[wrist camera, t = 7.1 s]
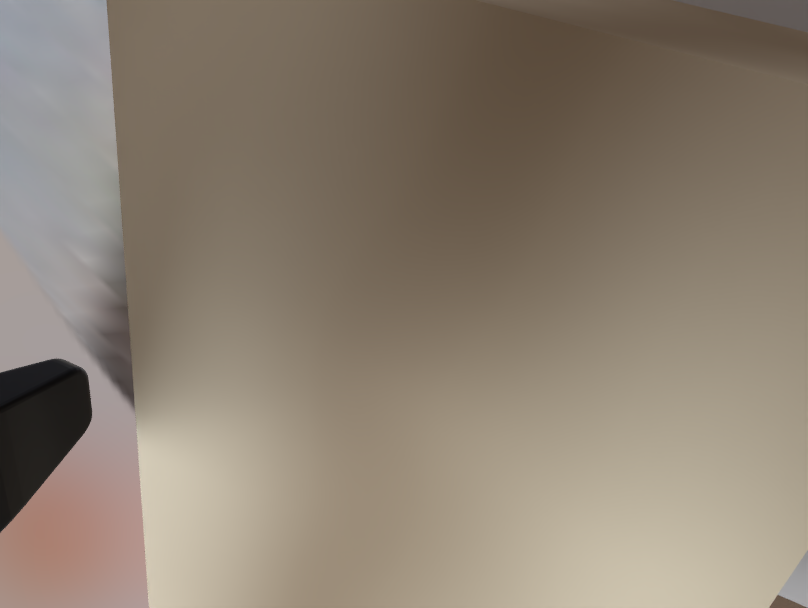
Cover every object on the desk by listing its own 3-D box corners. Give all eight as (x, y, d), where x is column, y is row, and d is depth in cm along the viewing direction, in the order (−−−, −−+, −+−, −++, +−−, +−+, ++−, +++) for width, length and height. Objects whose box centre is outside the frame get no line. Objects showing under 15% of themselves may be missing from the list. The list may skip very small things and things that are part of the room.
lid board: (1014, 80, 6) (1076, 152, 5) (591, 793, 13) (563, 910, 11) (224, -106, 8) (99, -96, 7) (216, 594, 15) (153, 674, 13)
